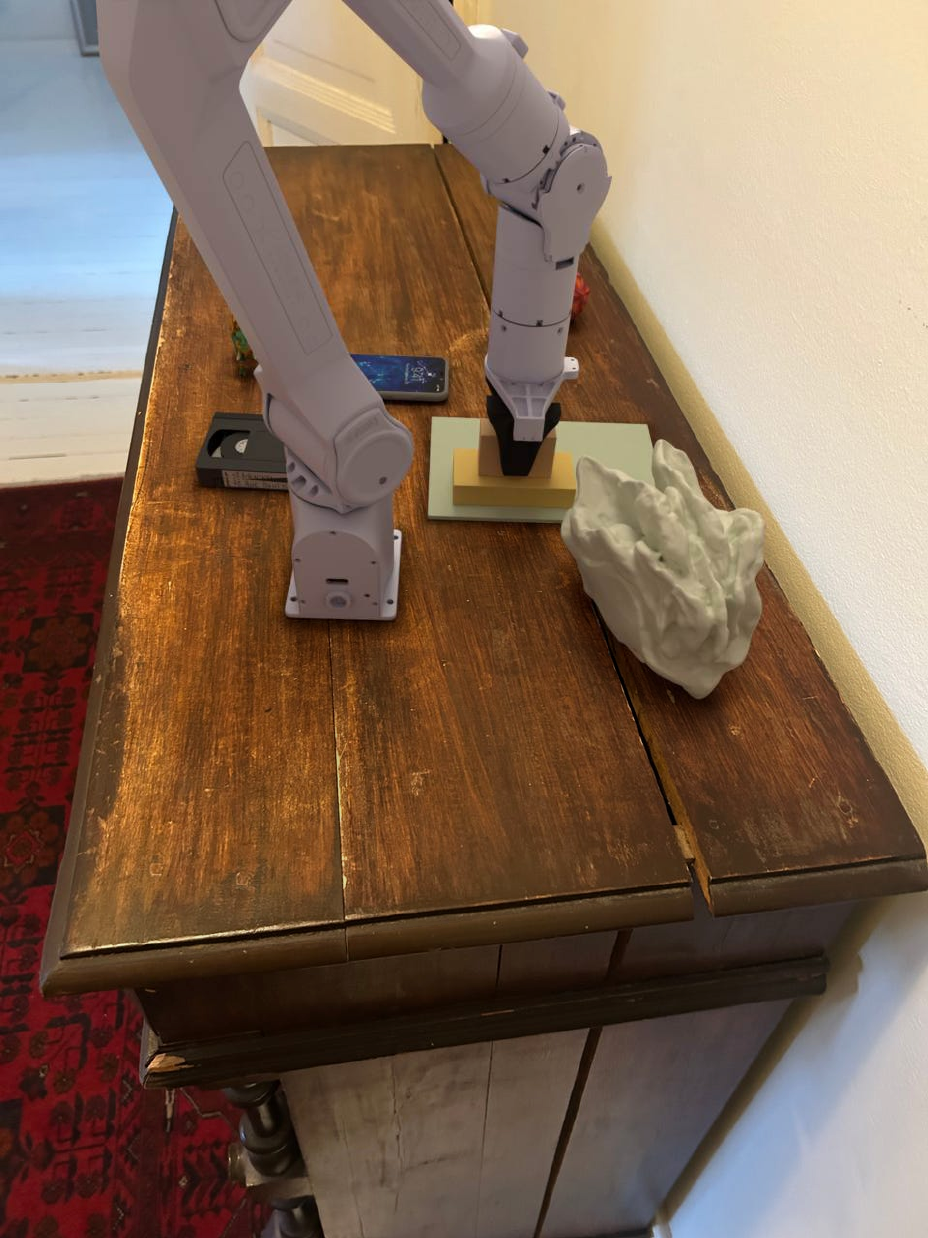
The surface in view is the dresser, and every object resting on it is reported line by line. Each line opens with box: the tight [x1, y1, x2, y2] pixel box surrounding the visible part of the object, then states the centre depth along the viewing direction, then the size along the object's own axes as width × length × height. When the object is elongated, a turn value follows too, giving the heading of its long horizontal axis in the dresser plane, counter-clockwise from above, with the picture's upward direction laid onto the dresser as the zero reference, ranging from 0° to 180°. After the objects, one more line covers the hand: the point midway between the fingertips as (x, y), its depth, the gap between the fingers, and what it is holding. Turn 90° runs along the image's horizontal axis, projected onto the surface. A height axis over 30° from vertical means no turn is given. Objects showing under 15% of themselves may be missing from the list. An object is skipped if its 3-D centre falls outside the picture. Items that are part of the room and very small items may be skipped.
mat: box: [427, 416, 655, 524], centre depth 76 cm, size 14×20×1 cm
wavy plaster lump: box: [560, 438, 767, 700], centre depth 60 cm, size 18×13×16 cm
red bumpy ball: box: [570, 271, 591, 321], centre depth 92 cm, size 6×7×8 cm
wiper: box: [453, 417, 576, 508], centre depth 71 cm, size 5×10×6 cm, turn 90°
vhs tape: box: [194, 411, 289, 492], centre depth 74 cm, size 14×8×2 cm, turn 88°
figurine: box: [229, 313, 259, 376], centre depth 83 cm, size 3×12×8 cm, turn 9°
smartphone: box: [348, 352, 450, 402], centre depth 84 cm, size 7×1×15 cm
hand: (514, 462), depth 71 cm, fingers closed on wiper, 2 cm apart
